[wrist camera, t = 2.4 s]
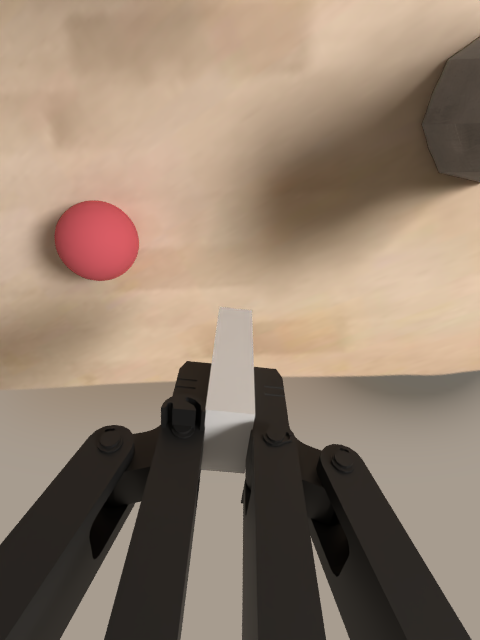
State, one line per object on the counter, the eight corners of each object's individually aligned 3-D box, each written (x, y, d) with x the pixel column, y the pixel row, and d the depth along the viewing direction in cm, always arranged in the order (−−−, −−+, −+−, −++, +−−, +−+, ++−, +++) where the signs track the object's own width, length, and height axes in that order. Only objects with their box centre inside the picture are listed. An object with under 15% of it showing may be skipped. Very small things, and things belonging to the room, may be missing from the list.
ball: (78, 260, 29) (46, 289, 24) (70, 189, 26) (31, 205, 21) (147, 267, 29) (128, 297, 24) (146, 198, 26) (124, 216, 21)
